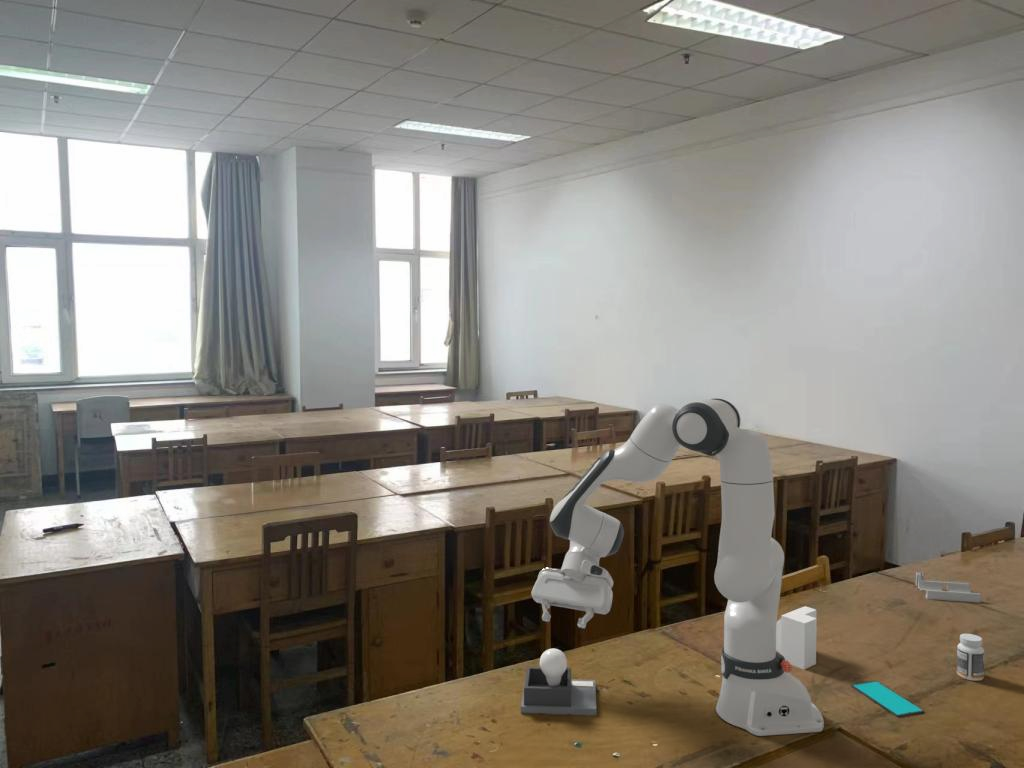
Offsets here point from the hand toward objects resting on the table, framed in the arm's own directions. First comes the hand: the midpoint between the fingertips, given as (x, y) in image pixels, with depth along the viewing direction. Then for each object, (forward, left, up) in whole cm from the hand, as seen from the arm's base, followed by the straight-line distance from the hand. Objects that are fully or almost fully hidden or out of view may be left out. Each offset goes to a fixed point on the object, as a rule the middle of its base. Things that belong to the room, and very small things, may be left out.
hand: (562, 623), depth 178 cm
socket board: (+1, +6, -16) cm, 17 cm away
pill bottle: (-100, -12, -16) cm, 102 cm away
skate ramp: (-122, -72, -16) cm, 143 cm away
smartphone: (-75, +1, -16) cm, 76 cm away
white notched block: (-61, -21, -16) cm, 66 cm away
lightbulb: (+2, +8, -14) cm, 16 cm away
